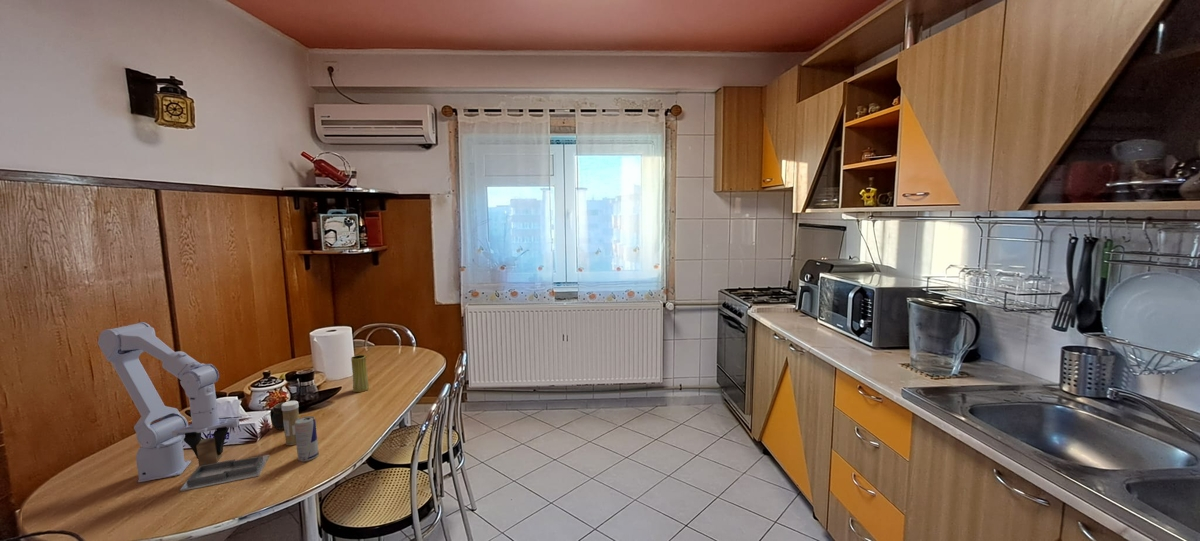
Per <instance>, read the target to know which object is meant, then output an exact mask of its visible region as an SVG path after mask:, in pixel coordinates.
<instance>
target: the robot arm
mask: <svg viewBox="0 0 1200 541" xmlns="http://www.w3.org/2000/svg"><path fill="white" fill-rule="evenodd" d="M97 345H98V347H99V349H100V351H101V352H102V354H103V356H104V357H105V359H106V361H107V362H110V363H111V365H112V367H113V369H114V370H115V373H116V374H117V376H118V378H119V379H120V381H121V382H122V384H123V387H125V390H126V391H127V393H128V395H129V396H130V399H131V401H132V402H133V404H134V406H135V407H136V408H135V409H137V411H138V413H139V414H140V418H139V419H138V420H137V422H136V423H135V424H134V427H133V429H134V431H135V433H136V440H137V443H138V444H139V445H140V446H139V448H138V450H137V452H136V458H135V460H136V468H137V474H138V480H137V482H138V483H143V482H148V481H154V480H160V479H164V478H171V477H174V476H175V477H177V476H180V475H182V474H183V472H184V471H185V470H186V469H187V468H188V466H189V465H190V464H191V462H192V460H185V454H184V447H183V441H184V443H186V444H187V445H188V446H189V447H190V448H191V450H192V451H193V453H194V454H195V457H196V459H197V460H198V454H197V447H196V446H197V444H198V443H199V442H200V441H201V440H202V433H205V432H209V431H214V432H213V434H212V435H213V438H215V442H216V448H217V454H218V455H221V454H222V453H223V452H224V444H225V441H226V436H227V434H228V431H229V429H230V428H238V427H239V426H240V421H239V420H240V418H239V417H237V418H224V419H220V417H219V409H218V403H217V402H218V401H217V395H216V387H215V383H217V382H218V381H219V378H220V373H219V370H218V369H217V368H216V366H215V365H213V364H212V363H204V362H203V363H202V362H201V363H200V362H199V361H198V360H196V359H194V358H193V357H192V356H190V355H189V354H187V353H186V352H185V351H181V350H179V351H174V349H172V348H171V347H170V346H169V345H167V344H166V343H164V342H163V340H161V339H160V338H159V337H157V336H156V331H155V328H154V327H153V326H151V325H150V324H148V323H147V322H143V321H140V322H137V323H133V324H129V325H124V326H119V327H115V328H109V329H108V328H107V329H103V330H102V331H101V332H100V334H99V336H98V341H97ZM143 353H147V354H149V355H150V356H151V357H153V358H156V359H157V360H159V361H161V363H162V364H161V367H162V369H164V370H165V371H167V372H168V373H169V374H172V376H174V377H175V378H177V379H179V383H180V385H181V387H182V388H183V390H184V394H185V396H186V397H187V398H188V402H189V408H190V409H189V411H190V416H191V424H189V422H188V420H187V418H186V417H185V416H184V415H182V414H181V412H180V411H179V409H178V408H176V407H171V406H167V405H165V404H164V402H163V400H162V398H161V396H160V395H159V392H158V390H156V387H155V385H154V384H153V382H152V380H151V378H150V377H149V375H148V373H147V371H146V370H145V368H144V365H143V364H142V363H141V361H140V356H141V354H143Z"/></svg>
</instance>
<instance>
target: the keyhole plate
mask: <svg viewBox="0 0 1200 541" xmlns="http://www.w3.org/2000/svg"><path fill="white" fill-rule="evenodd" d="M269 458H270V454H263V455H258V456H253V457H248V458H247V457H246V458H243V459H237V460H236V459H231V460H225V461H218V462H217V463H214V464H209V465H203V466H199V465H198V466H197V467H196V469H195V470H194V471H193V472H192V473H191V475H190V476H189V478H188V479H187V480H186V481H185V483H184V484H182V486H181V488H180V489H179V491H180V492H185V491H189V490H195V489H201V488H206V487H210V486H215V485H220V484H225V483H230V482H235V481H241V480H246V479H251V478H255V477H260V475H261V473H262V471H263V469H264V467H265V466H266V463H267V462H268V460H269Z"/></svg>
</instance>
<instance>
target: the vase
mask: <svg viewBox="0 0 1200 541" xmlns="http://www.w3.org/2000/svg"><path fill="white" fill-rule="evenodd" d="M366 358H367V357H366V355H364V354H356V355H353V356H352V357H351V359H350V360H351V370H352V392H353V393H362V392H366V391H368V390H369V389H370V386H369V378H368V367H367V359H366Z"/></svg>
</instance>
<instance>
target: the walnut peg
mask: <svg viewBox="0 0 1200 541" xmlns="http://www.w3.org/2000/svg"><path fill="white" fill-rule="evenodd" d="M196 447H197V454H198V459H197V461H198V466H203V465H209V464H214V463H218V462H220V460H221V458H222V454H221V455H218V454H217V448H216V442H215V438H214V437H208V438H203V439H202V438H201V441H200V442H199V443H198V444H197V446H196Z"/></svg>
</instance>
